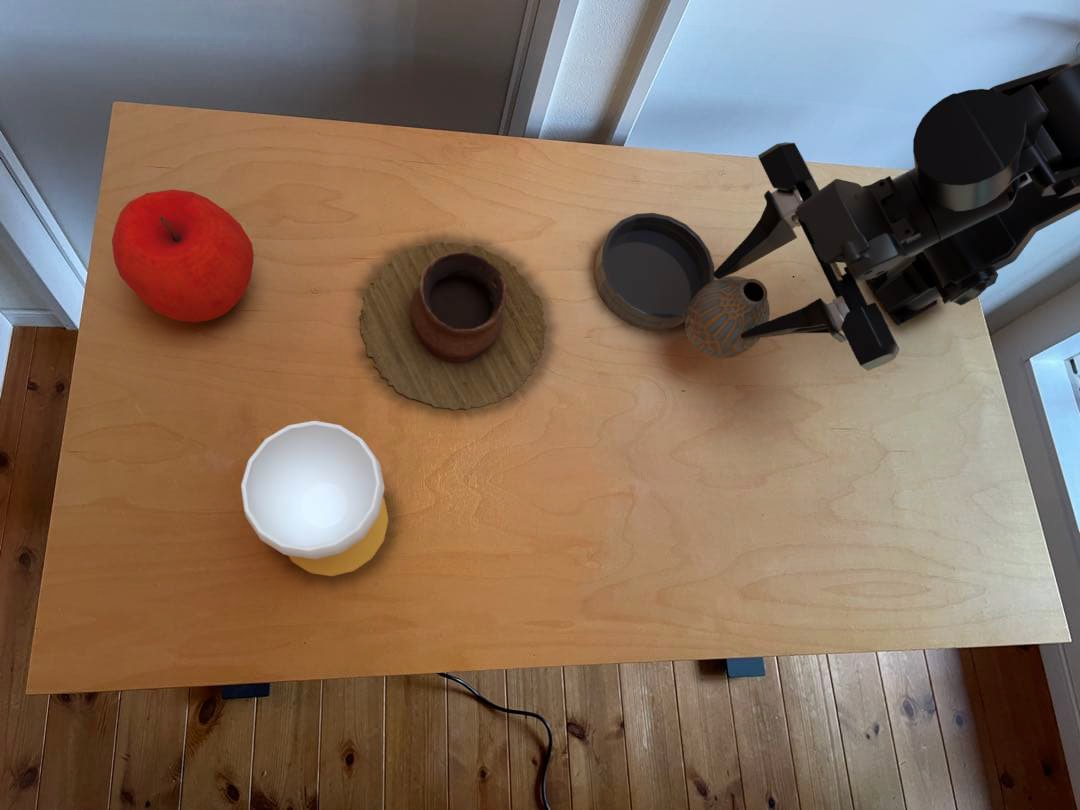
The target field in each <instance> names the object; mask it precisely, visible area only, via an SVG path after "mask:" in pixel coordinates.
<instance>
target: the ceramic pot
mask: <svg viewBox="0 0 1080 810" xmlns="http://www.w3.org/2000/svg"><path fill="white" fill-rule="evenodd" d="M370 283H371V284H373V287H370V288H368V289H366V290H365V292H364V294H363V299H364V304H363V307H362V308H361V310H360V311H361V312H360V314H359V316H358V319H360V334H361V335H362V338H363V342H364V343H365V345H366V355H367V357H368V358H373V360H374V362H375V364H374V365H373V366H374V368H376V369H377V370H378V371H379V372H380V376H381V377H380V378H384V379H386V380H387V382H388V386H393V387H394V389H395V392H396V393H398V394H400V395H403V396H405V397H406V398H408V399H411V400H415V401H419V402H422V403H424V404H428V405H431V406H433V408H441V409H450V410H452V411H453V410H454V411H457V410H459V409H463V410H469V409H471V408H478V407H485V406H487V405H489V404H494V403H497V402H500V401H501V400H502V399H503V398H506V397H510V396H512V395H513V394H514V392H516V391H517V390H520V389H521V388H523V386H524V385H525V382H526V381H528V379H527V378H528V376H531V375H533V374H534V368H535V367H536V366H537V365H538V364H539V359H540V358H541V357H542V356H543V353H542V349H545V347H546V346H545V335H546V330H547V326H548V325H547V324H545V319H544V317H543V316H544V311H543V307H544V306H543V303H542V301H541V299H540V298H541V297H540V296H539V295H537V294H536V291H535V289H534V288H532V287H531V285H530V283H529V280H528V279H527V278H526V277H525V276H523V275H521V274H520V273H518V272H517V266H515V265H512V264H511V262H510V261H508V260H506V259H504V258H503V257H502V255H500V254H495V253H493V252H490V251H487V249H485V247H483V246H479V245H477V244H474V245H465V243H460V242H446V243H445V242H444V241H440V242H439V241H438V242H428V244H423V245H416V246H414V248H412V249H408V250H403V252H402V253H401V254H400V255H395V256H393V257H392V259H391V260H390V262H389V263H387V264H386V265H385V266H384V267H382V268H380V269H379V270H378V274H376V275H375V276H374V280H371V281H370Z"/></svg>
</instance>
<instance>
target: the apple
mask: <svg viewBox="0 0 1080 810" xmlns="http://www.w3.org/2000/svg"><path fill="white" fill-rule="evenodd" d="M112 234H113V235H112V238H111V247H112V255H113V261H114V264H115V267H116V270H117V272H118V274H119V277H120V278H121V279H122V280H123V281H124V282H125V284H127V286H128V287H129V288H130V289H131V290H132V291H133V292H134V293H135V295H136V296H137V297H138V298H139V299H140V300H141V301H142V302H143V303H144V304H146V305H147V306H148V307H150V308H151V309H153V310H154V311H156V312H157V313H158V314H161V315H163V316H166V317H169V318H170V319H174V320H176V321H181V322H189V323H199V322H205V321H206V322H207V321H210V320H213V319H216V318H219V317H221V316H223V315H225V314H227V313H228V312H229V311H230V310H231V309H233V308H234V306H235V305H237V303H238V302H239V301H240V300H241V299H242V297H243V295H244V293H245V292H246V289H247V287H248V285H249V283H250V281H251V279H252V273H253V267H254V249H253V247H254V246H253V243H252V241H251V239H250V238H249V236H248V234H247V233H246V231H245V230H244V227H243V226H242V224H241V223H240V222H239V221H238V220H236V219H235V218H234V216H232V214H230V212H228V211H227V210H226V209H224V208H222V207H221V206H219V205H218V204H217V203H216V202H214V201H212V200H211V199H209V198H208V197H206V196H204V195H201V194H199V193H196V192H193V191H188V190H180V189H166V190H159V191H153V192H152V191H151V192H146V193H144V194H142V195H140V196H138V197H136V198H134V199H132V200H130V201H129V202H127V204H125V206H124V207H123V208H122V209H121V210H120V212H119V215H118V217H117V220H116V223H115V225H114V228H113V233H112Z"/></svg>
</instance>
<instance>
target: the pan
mask: <svg viewBox="0 0 1080 810" xmlns="http://www.w3.org/2000/svg"><path fill="white" fill-rule="evenodd" d="M714 272H715V265H714V260H713V258H712V256H711V252H710V250H709V248H708V247H707V245H706V244H705V242H704V240H703V239H702V238H701V236H700V235H699V234H697V233H696V232H695V231H694V230H693V229H692V228H691V227H690V226H689V225H688V224H686V223H684V222H682V221H680V220H678V219H676V218H674V217H672V216H670V215H666V214H661V213H656V212H646V213H644V212H643V213H635V214H633V215H630V216H628V217H625V218H623V219H621V220H620V221H618V223H616V224H615V225H614V226H613V227H612V228H611V229H610V230H609V232H608V233H607V235H606V237H605V239H604V241H603V243H602V245H601V247H600V249H599V251H598V252H597V254H596V258H595V263H594V281H595V285H596V288H597V291H598V293H599V295H600V297H601V299H602V300H603V302H604V303H605V304H606V306H607V307H608V309H610V311H612V313H614V314H615V315H616V316H617V317H618V318H619V319H621V320H623V321H624V322H626V323H628V324H630V325H632V326H635V327H636V328H640V329H643V330H650V331H664V330H669V329H673V328H676V327H679V326H680V325H682V324H685V318H686V312H687V309H688V307H689V304H690V302H691V301H692V299H693V298H694V296H695V295H696V294H697V293H698V292H699V291H700V290H701V289H702V288H703V287H704V286H706V285H707V284H709V283H710V282H712V281H714V280H715V277H714V275H713V273H714Z"/></svg>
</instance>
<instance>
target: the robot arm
mask: <svg viewBox="0 0 1080 810" xmlns="http://www.w3.org/2000/svg"><path fill="white" fill-rule="evenodd" d="M912 143H913V145H912V153H913V160H914V167H913V168H912V169H909V170H907V171H905V172H904V173H901V174H900V175H898V176H896V177H894V178H892V177H891V175H888V176H887V177H885V178H881V179H879V180H877V181H875V182H873V183H871V184H867V185H863V186H862V185H861V184H859V183H857V182H853V181H849V180H844V179H841V178H835V179H834V180H831V181H830V182H829V183H828V184H826V185H825V186H824V187H822V188H821V189H820V188H819V187H818V184H817V183H816V181H815V179H814V177H813V175H812V172H811V171H810V168H809V167H808V165H807V163H806V161H805V159H804V157H803V155H802V153H801V152H800V150H799V148H798V146H797V145H796V142H787V141H786V142H785V141H784V142H780V143H779V142H778V143H776V144H773V146H771V147H769V148H768V149H766V150H764V151H763V152H762V153H759V154H758V155H757V157H758V160H759V162H760V164H761V166H762V167H763V170H764V172H765V174H766V176H767V178H768V181H769V182H770V184H771V187H772V188H773V189H775V190H774V191H772V192H771V191H770V189H767V190H766V191H765V193H764V194H763V198H764V199H765V201H766V204H765V207H764V209H763V211H762V214H761V216H760V218H759V220H758V222H757V223H756V225H755V226H754V227H753V228H752V230H751V231H750V232H749V233H748V234H747V236H746V237H745V238H744V239H743V241H742V242H740V244H739V245H737V247H736V248H735V249H734V250H733V251H732V252H731V253H730V255H729V256H728V257H726V258H725V260H724V261H723V262H722V263H721V264H720V265H719V266H718V268H717V269H715V270H714V273H713V275H714V279H715V280H717V279H720V278H723V277H728V276H730V275H732V274H735V273H737V272H739V271H740V270H742V269H744V268H746V267H748V266H750V265H751V264H753V263H755V262H756V261H759V260H760V259H762V258H764V257H765V256H767V255H769V254H771V253H773V252H774V251H776V250H778V249H780V248H781V247H783V246H786V245H787V244H789V243H791V242H793V241H794V240H796V239H798V237H797V234H796V232H795V230H794V229H795V228H797V227H798V228H800V227H801V229H802V230H803V233H804V235H805V237H806V240H807V241H808V243H809V245H810V247H811V249H812V251H813V253H814V256H815V257H816V259H817V261H818V264H819V266H820V267H821V269H822V271H823V273H824V276H825V277H826V280H827V282H828V284H829V286H830V288H831V290H832V293H833V294H834V296H835V298H833V299H832V302H830V303H828V304H827V303H826V302H825V301H824V300H823V299H822V298H821V297H819V298H817V299H815V300H813V301H812V302H810V303H808V304H807V305H806V306H804V307H802V308H800V309H796V310H795V311H792V312H789V313H787V314H786V313H785V314H784V315H781V316H778V317H775V318H773V319H771V320H770V319H769V321H768V322H765V323H762V324H760V325H757V326H755V327H753V328H751V329H749V330H748V331H746V332H744V333H742V334H741V338H742V339H744V340H748V339H756V338H761V339H762V338H773V337H779V336H788V335H797V334H830V336H831V337H832V338H834V340H837V342H839V343H844V342H846V341H847V343H848V344H849V347H850V349H851V351H852V353H853V355H854V357H855V359H856V361H857V362H858V365H859V366H860V367H861V368H863V369H864V370H866V371H867V372H869V371H871V370H873V369H876V368H878V367H881V366H883V365H885V364H887V363H890V362H892V361H894V360H895V359H896V358H897V356H898V354H899V352H900V350H901V349H900V347H899V344H898V342H897V341H896V338H895V337H894V335H893V332H892V331H891V329H890V327H889V325H888V323H887V321H886V319H885V317H884V315H883V313H882V311H881V309H880V308H879V305H878V304H877V303H876V302H872V303H868V302H867V301H866V299H865V297H864V295H863V292H862V291H861V289H860V287H859V283H860V282H863V281H866V282H867V284H868V286H869V287H870V289H871V290H872V291H873V292H874V293H873V294H875V296H876V297H877V298H878V300H879V301H880V303H881V304H882V306H883V307H884V308H885V310H886V311H887V312H888V314H889V315H890V317H891V318H892V320H893V321H894V322H895V323H896V325H899V326H901V325H903V324H905V323H906V322H909V321H910V320H912V319H913V318H915V317H917V316H919V315H920V314H922V313H924V312H926V311H927V310H929V309H931V308H933V307H934V306H936V305H937V304H938V299H940V298H941V301H942V303H943V304H944V305H946V304H950V303H955V304H957V305H959V306H964V305H966V304H968V303H970V302H971V301H973V300H975V299H977V298H978V297H979V296H980V295H981V294H983V293H984V292H985V291H986V290H987V289H988V288H990V287H991V286H993V285H995V284H996V283H997V279H998V278H999V273H998V272H997V271H999V270H1000V269H1002V268H1004V267H1007V266H1008V265H1010V264H1013V263H1014V262H1015V261H1016V260H1017V259H1018V258H1019V256H1020V255H1021V254H1022V252H1023V251H1024V249H1025V248H1026V247H1027V245H1028V244H1029V243H1030V241H1031V240H1032V239H1033V237H1034V236H1035V235H1036V233H1038V232H1039V231H1041V230H1043V229H1045V228H1047V227H1048V226H1051V225H1053V224H1055V223H1057V222H1059V221H1060V220H1062V219H1064V218H1067V217H1068V216H1070V215H1072V214H1074V213H1076V212H1078V211H1080V62H1077V63H1074V64H1072V65H1071V64H1070V63H1063V64H1059V65H1057V66H1053V67H1049V68H1046V69H1043V70H1041V71H1036V72H1034V73H1031V74H1028V75H1025V76H1021V77H1019V78H1015V79H1013V80H1008V81H1006V82H1003V83H1000V84H996V85H994V86H992V87H990V88H989V89H986V88H976V89H968V90H964V91H961V92H957V93H956V92H954V93H951V94H949V95H947V96H946V97H944V98H941V99H940V100H939V101H938V102H937V103H935V104H934V105H933V106H931V107H930V109H929V110H928V111H926V113H925V114H924V116H923V117H922V118H921V120H920V122H919V124H918V125H917V127H916V130H915V133H914V135H913V139H912ZM1028 176H1029V177H1028ZM1029 178H1030V179H1031V181H1030V182H1028V180H1029ZM1027 182H1028V183H1027ZM837 263H838V264H839V263H840V264H845V265H846V266H845V267H843V270H844V272H845V273H844V274H842V272H841V270H840V267H839V266H838V264H837Z"/></svg>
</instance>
